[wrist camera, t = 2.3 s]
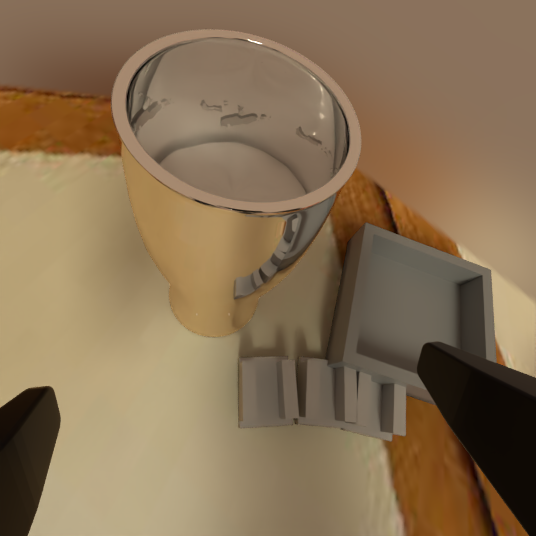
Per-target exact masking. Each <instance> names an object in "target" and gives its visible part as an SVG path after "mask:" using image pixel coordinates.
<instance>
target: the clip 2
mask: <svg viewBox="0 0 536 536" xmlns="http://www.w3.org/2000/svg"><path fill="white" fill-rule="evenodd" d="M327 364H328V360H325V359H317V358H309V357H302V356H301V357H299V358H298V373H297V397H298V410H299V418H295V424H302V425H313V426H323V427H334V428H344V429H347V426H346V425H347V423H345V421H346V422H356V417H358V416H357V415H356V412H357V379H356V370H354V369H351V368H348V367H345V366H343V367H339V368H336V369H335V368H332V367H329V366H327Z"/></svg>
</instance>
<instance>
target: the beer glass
mask: <svg viewBox="0 0 536 536" xmlns="http://www.w3.org/2000/svg"><path fill="white" fill-rule="evenodd" d="M111 111H112V118H113V122H114V125H115V128H116V131H117V134H118V139H119V144H120V151H121V157H122V163H123V169H124V174H125V180H126V185H127V190H128V195H129V199H130V203H131V207H132V210H133V214H134V218H135V222H136V225H137V227H138V230H139V232H140V235H141V237H142V240H143V242H144V245H145V247H146V250H147V252H148V253H149V255H150V257H151V258H152V260H153V262H154V263H155V265H156V266H157V268H158V269H159V271H160V272H161V274H162V275H163V276H164V277H165V279H166V280H167V281H168V282H169V284H170V288H169V301H170V306H171V309H172V311H173V313H174V315H175V317H176V318H177V320H178V321H179V322H180V323H181V324H182V325H183V326H184V327H185V328H187V329H188V330H190V331H191V332H193V333H196V334H198V335H202V336H207V337H221V336H226V335H229V334H232V333H234V332H236V331H238V330H239V329H241V328H242V327H243V326H245V325H246V324H247V323H248V322H249V320H250V319H251V318H252V316H253V315H254V313H255V311H256V308H257V305H258V300H259V297H261V296H262V295H264V294H266V293H267V292H269V291H270V290H271V289H273V288H274V287H275V286H276V285H277V284H278V283H280V282H281V281H282V280H283V279H284V278H285V277H286V276H288V274H289V273H290V272H291V271H292V270H293V269H294V267H295V266H296V265H297V264H298V263H299V261H300V260H301V259H302V258H303V256H304V255H305V254H306V252H307V251H308V249H309V248H310V246H311V245H312V243H313V241H314V240H315V238H316V237H317V235H318V234H319V232H320V230H321V228H322V227H323V225H324V223H325V221H326V219H327V217H328V216H329V214H330V212H331V210H332V208H333V206H334V204H335V202H336V200H337V198H338V196H339V194H340V192H341V190H342V189H343V187H344V185H345V183H346V182H347V181H348V180H349V178H350V177H351V175H352V173H353V172H354V170H355V168H356V165H357V162H358V160H359V156H360V151H361V132H360V126H359V122H358V119H357V116H356V113H355V111H354V109H353V107H352V105H351V103H350V101H349V100H348V98H347V96H346V95H345V93H344V92H343V91H342V89H341V88H340V87H339V86H338V84H337V83H336V82H335V81H334V80H333V79H332V78H331V77H330V76H329V75H328V74H327V73H325V71H323V70H322V69H321V68H320V67H318V66H317V65H316V64H315V63H313V62H312V61H310V60H309V59H307V58H306V57H304V56H303V55H301V54H299V53H297V52H296V51H294V50H292V49H290V48H288V47H286V46H283V45H281V44H279V43H276V42H274V41H271V40H268V39H265V38H262V37H259V36H255V35H251V34H247V33H242V32H236V31H229V30H215V29H211V30H210V29H205V30H191V31H185V32H180V33H175V34H172V35H168V36H165V37H162V38H160V39H157V40H155V41H153V42H151V43H149V44H147V45H145V46H144V47H142V48H141V49H139V50H138V51H137V52H136V53H134V54H133V55H132V56H131V57H130V58H129V59H128V60H127V61H126V63H125V64H124V65H123V67H122V68H121V70H120V71H119V73H118V75H117V78H116V80H115V82H114V86H113V89H112V95H111Z"/></svg>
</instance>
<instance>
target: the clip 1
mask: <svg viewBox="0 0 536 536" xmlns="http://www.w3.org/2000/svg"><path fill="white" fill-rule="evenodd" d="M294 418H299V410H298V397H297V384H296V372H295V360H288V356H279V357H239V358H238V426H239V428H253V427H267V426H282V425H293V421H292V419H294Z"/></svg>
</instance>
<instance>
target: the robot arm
mask: <svg viewBox="0 0 536 536" xmlns="http://www.w3.org/2000/svg"><path fill="white" fill-rule="evenodd" d="M417 373H418V376H419V378H420V379H421V381H422V383H423V384H424V386H425V388H426V389H427V391H428V392H429V394H430V396H431V397H432V399H433V401H434V402H435V404H436V406H437V407H438V409H439V410H440V412H441V414H442V415H443V417H444V419H445V420H446V422H447V423H448V425H449V426H450V428H451V429H452V431H453V432H454V434H455V435H456V436H457V438H458V439H459V441H460V442H461V443H462V445H463V446H464V447H465V449H466V450H467V452H468V453H469V454H470V456H471V457H472V458H473V460H474V461H475V462H476V464H477V465H478V467H479V468H480V469H481V471H482V472H483V473H484V475H485V476H486V478H487V479H488V480H489V482H490V483H491V484H492V486H493V487H494V488H495V490H496V491H497V493H498V494H499V495H500V497H501V498H502V499H503V501H504V502H505V504H506V505H507V506H508V508H509V509H510V510H511V512H512V513H513V514H514V516H515V517H516V519H517V520H518V521H519V523H520V524H521V525H522V527H523V528H524V530H525V531H526V532H527V534H528V535H529V536H536V378H535V377H532V376H529V375H527V374H524V373H521V372H519V371H516V370H514V369H511V368H508V367H506V366H503V365H500V364H498V363H495V362H493V361H490V360H487V359H485V358H482V357H479V356H477V355H474V354H472V353H469V352H466V351H464V350H461V349H458V348H456V347H453V346H451V345H448V344H445V343H443V342H439V341H436V342H427V343H425V344H424V345H423V347H422V349H421V353H420V356H419V360H418V363H417ZM60 422H61V418H60V412H59V408H58V404H57V400H56V396H55V392H54V390H53V388H52V387H50V386H43V387H34V388H28V389H26V390H24V391H23V392H22V393H20V394H19V395H17V396H16V397H15V398H13V399H12V400H10V401H9V402H8V403H6V404H5V405H3V406H2V407H1V408H0V536H28V533H29V531H30V528H31V525H32V523H33V520H34V517H35V514H36V511H37V508H38V505H39V502H40V498H41V495H42V491H43V488H44V484H45V480H46V476H47V473H48V469H49V465H50V462H51V458H52V454H53V451H54V447H55V443H56V440H57V436H58V432H59V428H60Z"/></svg>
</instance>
